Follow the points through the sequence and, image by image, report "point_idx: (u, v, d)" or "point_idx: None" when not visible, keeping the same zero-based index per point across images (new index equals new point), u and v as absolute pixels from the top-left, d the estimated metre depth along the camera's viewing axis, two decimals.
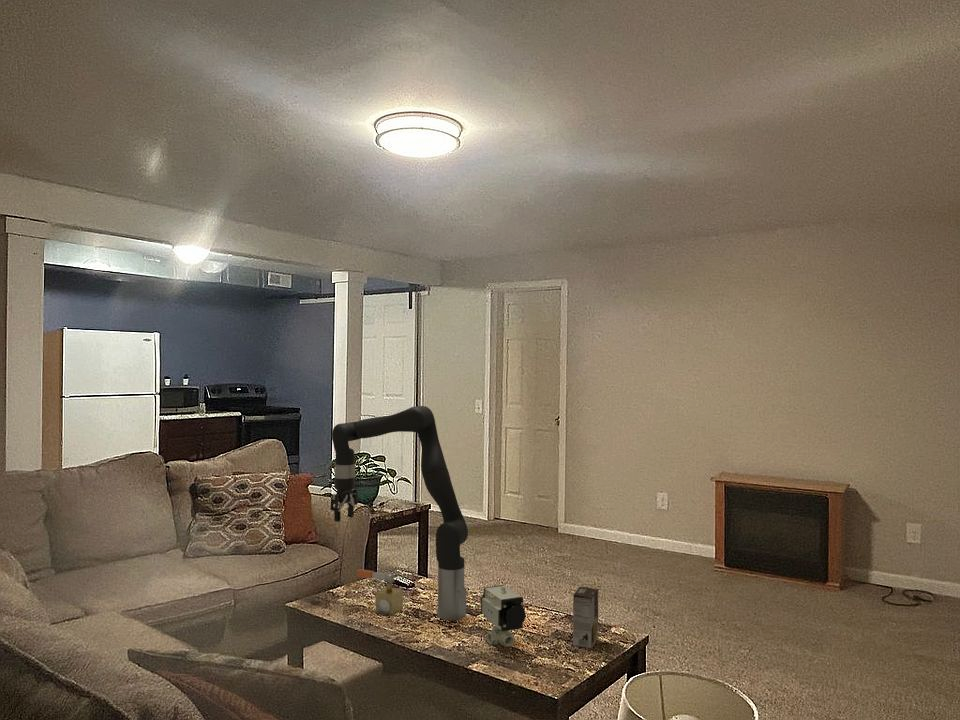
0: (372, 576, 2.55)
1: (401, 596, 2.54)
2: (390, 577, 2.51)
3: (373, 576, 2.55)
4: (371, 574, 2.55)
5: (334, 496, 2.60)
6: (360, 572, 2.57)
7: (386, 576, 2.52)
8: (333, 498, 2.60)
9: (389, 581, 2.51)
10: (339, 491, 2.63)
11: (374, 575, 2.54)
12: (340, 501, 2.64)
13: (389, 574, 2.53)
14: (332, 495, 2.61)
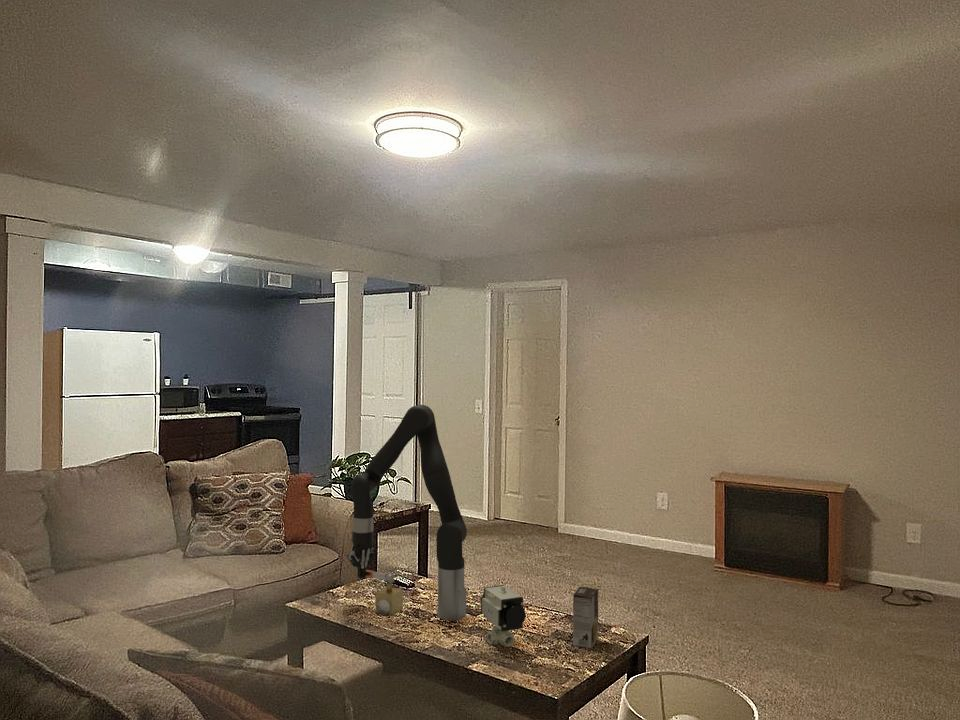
0: (372, 576, 2.55)
1: (401, 596, 2.54)
2: (390, 577, 2.51)
3: (373, 576, 2.55)
4: (371, 574, 2.55)
5: (350, 558, 2.50)
6: None
7: (386, 576, 2.52)
8: (350, 559, 2.50)
9: (389, 581, 2.51)
10: (355, 545, 2.52)
11: (374, 575, 2.55)
12: None
13: (389, 574, 2.53)
14: (348, 556, 2.50)
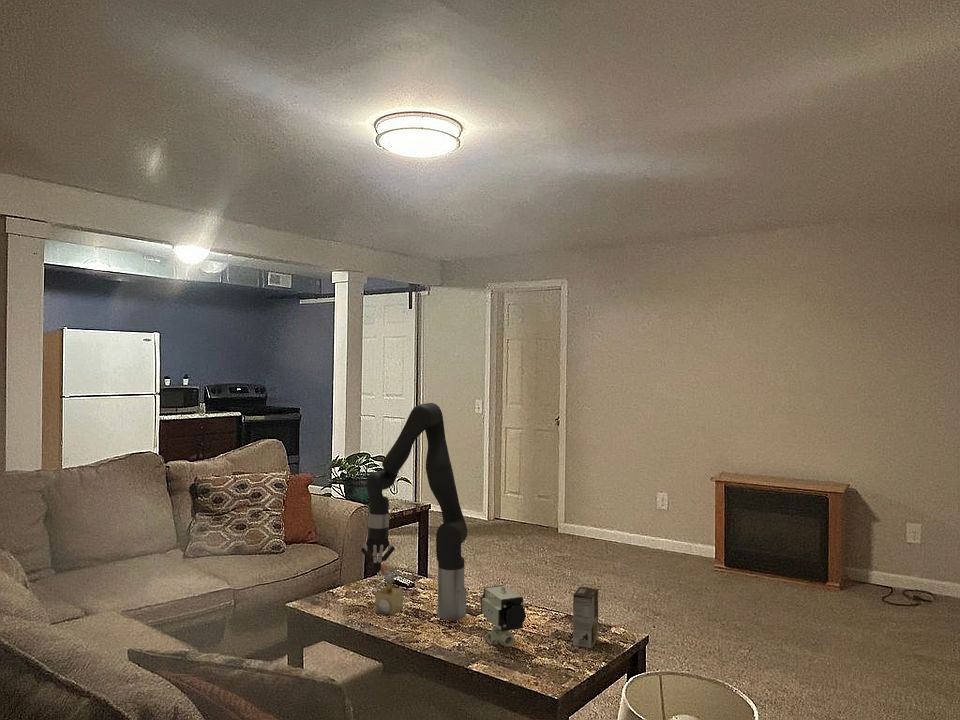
0: (383, 573, 2.59)
1: (401, 596, 2.54)
2: (387, 577, 2.51)
3: (384, 573, 2.59)
4: (383, 571, 2.59)
5: (361, 550, 2.60)
6: None
7: (385, 575, 2.53)
8: (362, 551, 2.60)
9: (386, 581, 2.52)
10: None
11: (384, 572, 2.58)
12: None
13: (388, 574, 2.53)
14: None
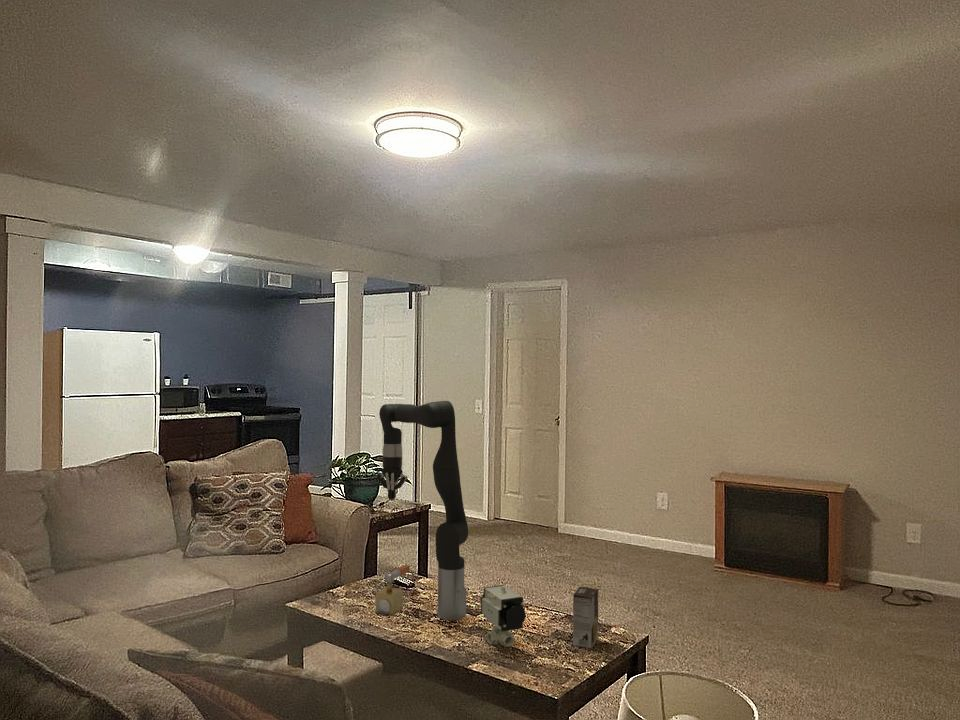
0: None
1: (401, 596, 2.54)
2: (385, 576, 2.52)
3: None
4: None
5: None
6: None
7: None
8: None
9: (385, 580, 2.53)
10: None
11: None
12: None
13: (388, 574, 2.53)
14: None
